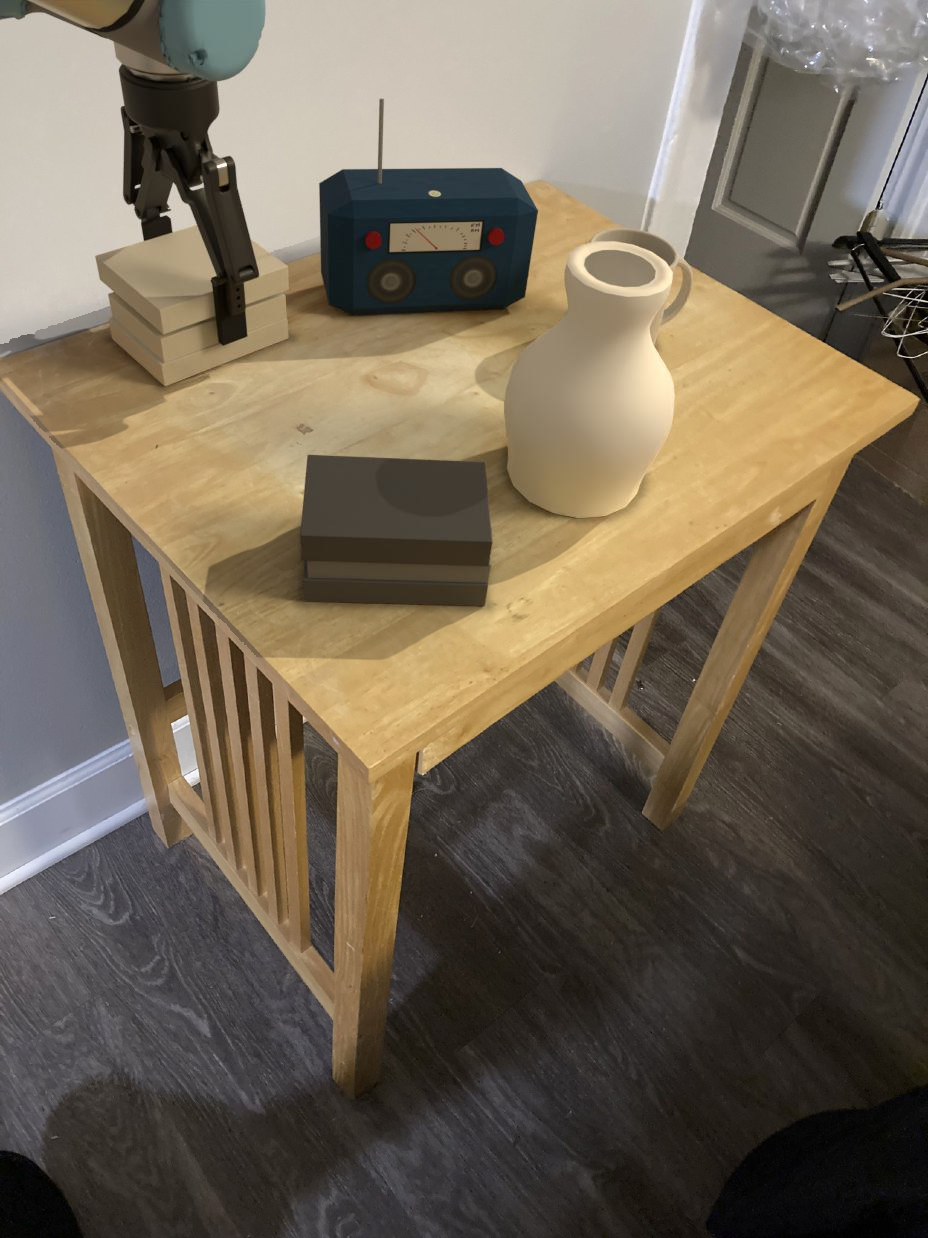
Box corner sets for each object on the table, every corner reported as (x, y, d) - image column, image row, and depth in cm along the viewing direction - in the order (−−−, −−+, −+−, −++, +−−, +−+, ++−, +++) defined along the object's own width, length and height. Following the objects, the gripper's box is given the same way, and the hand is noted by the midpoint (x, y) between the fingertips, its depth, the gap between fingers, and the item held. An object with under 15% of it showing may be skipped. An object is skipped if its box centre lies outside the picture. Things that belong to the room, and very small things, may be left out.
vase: (461, 465, 86) (485, 254, 72) (563, 404, 94) (605, 202, 79) (583, 551, 81) (638, 341, 66) (682, 479, 88) (752, 276, 73)
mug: (562, 349, 100) (580, 259, 93) (582, 305, 106) (601, 216, 99) (665, 376, 99) (691, 286, 91) (679, 329, 105) (705, 241, 97)
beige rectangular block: (164, 386, 90) (157, 341, 86) (111, 338, 94) (102, 293, 91) (288, 338, 97) (286, 294, 93) (234, 295, 101) (230, 252, 98)
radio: (331, 324, 99) (328, 120, 84) (320, 279, 105) (315, 80, 90) (526, 315, 104) (557, 120, 89) (506, 273, 109) (531, 82, 94)
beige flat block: (163, 334, 86) (159, 310, 84) (99, 279, 90) (94, 255, 89) (289, 289, 92) (288, 265, 90) (223, 240, 97) (221, 217, 95)
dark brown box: (303, 601, 74) (300, 535, 69) (309, 520, 80) (307, 454, 75) (485, 606, 76) (495, 541, 70) (478, 526, 81) (487, 461, 76)
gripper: (294, 106, 74) (303, 355, 90) (132, 8, 84) (166, 248, 100) (208, 127, 70) (234, 383, 86) (50, 22, 80) (100, 268, 97)
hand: (198, 310), depth 93 cm, fingers closed on beige flat block, 11 cm apart
